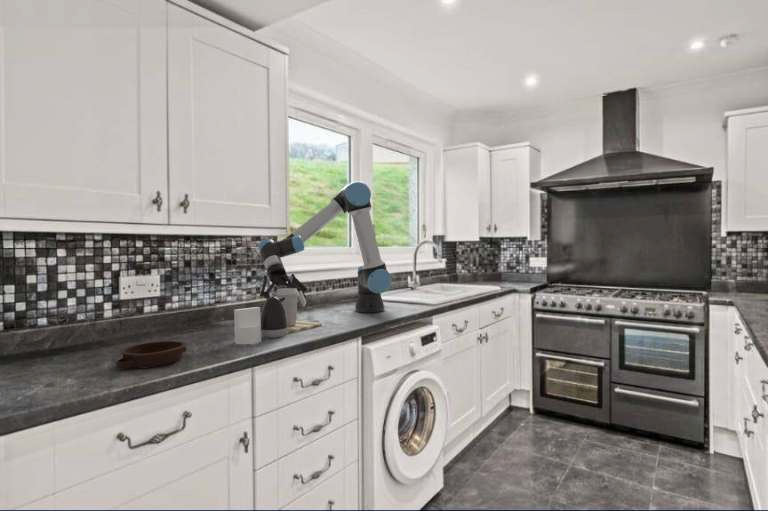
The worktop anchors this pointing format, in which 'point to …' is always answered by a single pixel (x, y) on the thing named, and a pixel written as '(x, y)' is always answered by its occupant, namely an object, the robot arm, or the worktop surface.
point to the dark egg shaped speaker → (273, 318)
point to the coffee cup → (289, 303)
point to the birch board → (301, 326)
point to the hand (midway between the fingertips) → (289, 306)
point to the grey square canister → (247, 325)
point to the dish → (151, 354)
